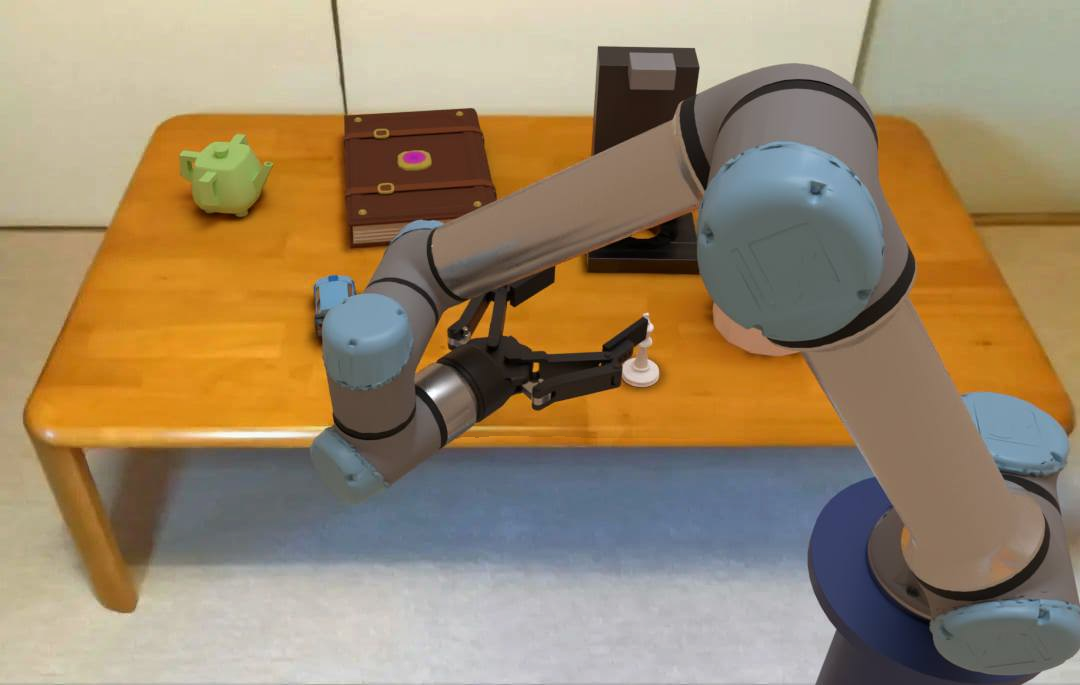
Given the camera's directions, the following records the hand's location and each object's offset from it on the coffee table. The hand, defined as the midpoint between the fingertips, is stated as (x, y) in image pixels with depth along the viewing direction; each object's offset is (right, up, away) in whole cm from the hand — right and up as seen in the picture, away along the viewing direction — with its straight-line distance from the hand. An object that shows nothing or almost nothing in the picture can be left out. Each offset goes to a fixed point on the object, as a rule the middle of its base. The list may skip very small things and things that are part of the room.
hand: (597, 298), depth 113 cm
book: (-26, +20, +49) cm, 59 cm away
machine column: (+8, +16, +45) cm, 49 cm away
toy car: (-34, -2, +24) cm, 42 cm away
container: (+24, -2, +26) cm, 36 cm away
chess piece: (+6, -9, +17) cm, 21 cm away
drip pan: (+8, +10, +39) cm, 41 cm away
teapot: (-54, +17, +44) cm, 71 cm away
